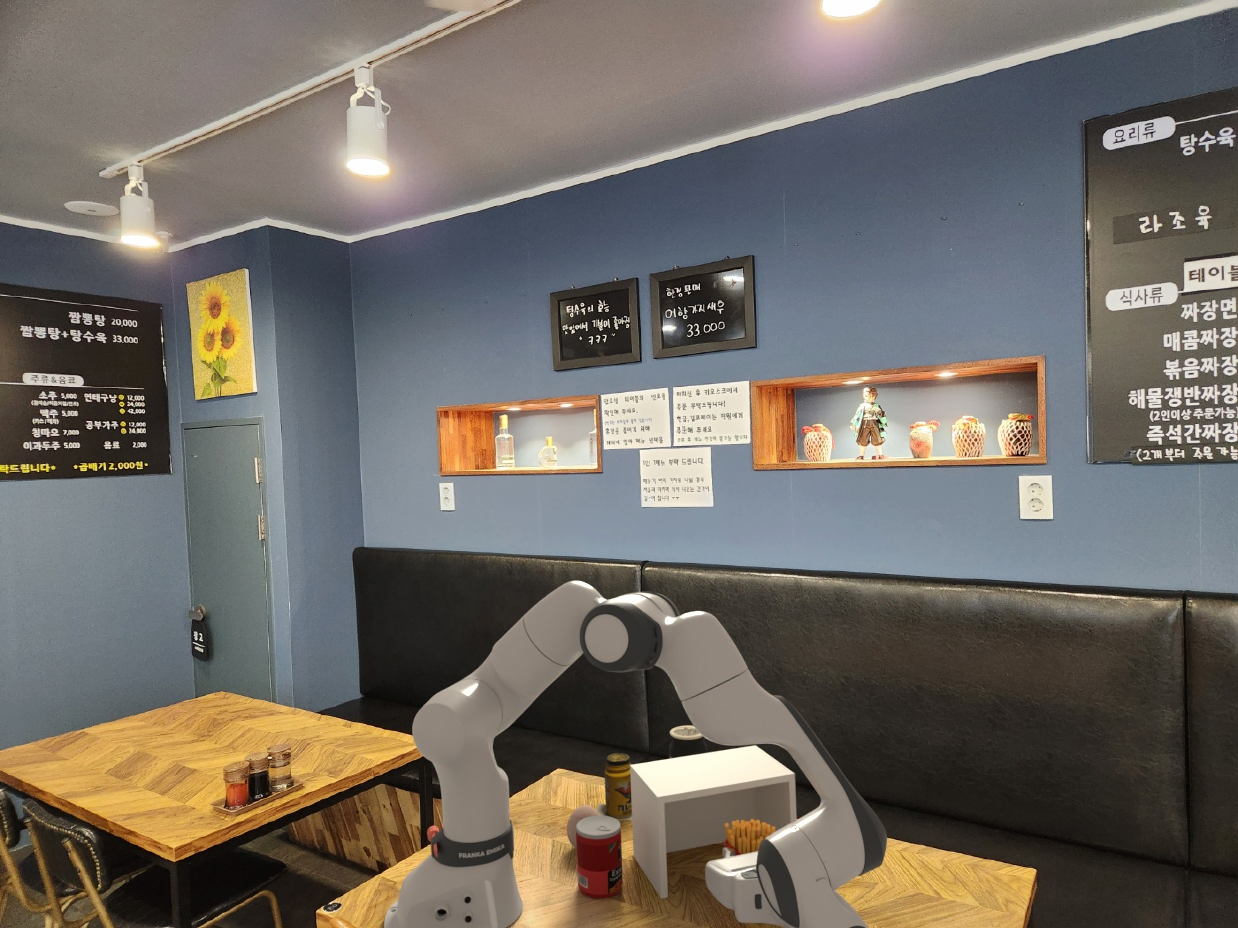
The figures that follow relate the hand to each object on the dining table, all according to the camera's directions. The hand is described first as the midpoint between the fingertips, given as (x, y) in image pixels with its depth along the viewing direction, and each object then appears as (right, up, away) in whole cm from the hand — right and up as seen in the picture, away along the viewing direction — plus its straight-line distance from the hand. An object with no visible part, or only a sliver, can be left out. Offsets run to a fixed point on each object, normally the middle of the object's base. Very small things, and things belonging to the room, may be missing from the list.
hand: (747, 847), depth 126 cm
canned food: (-25, -11, +7) cm, 28 cm away
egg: (-28, -11, +20) cm, 36 cm away
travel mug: (-6, -10, +32) cm, 34 cm away
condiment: (-22, -11, +36) cm, 43 cm away
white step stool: (-4, -10, +13) cm, 17 cm away
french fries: (+1, -8, -1) cm, 8 cm away
